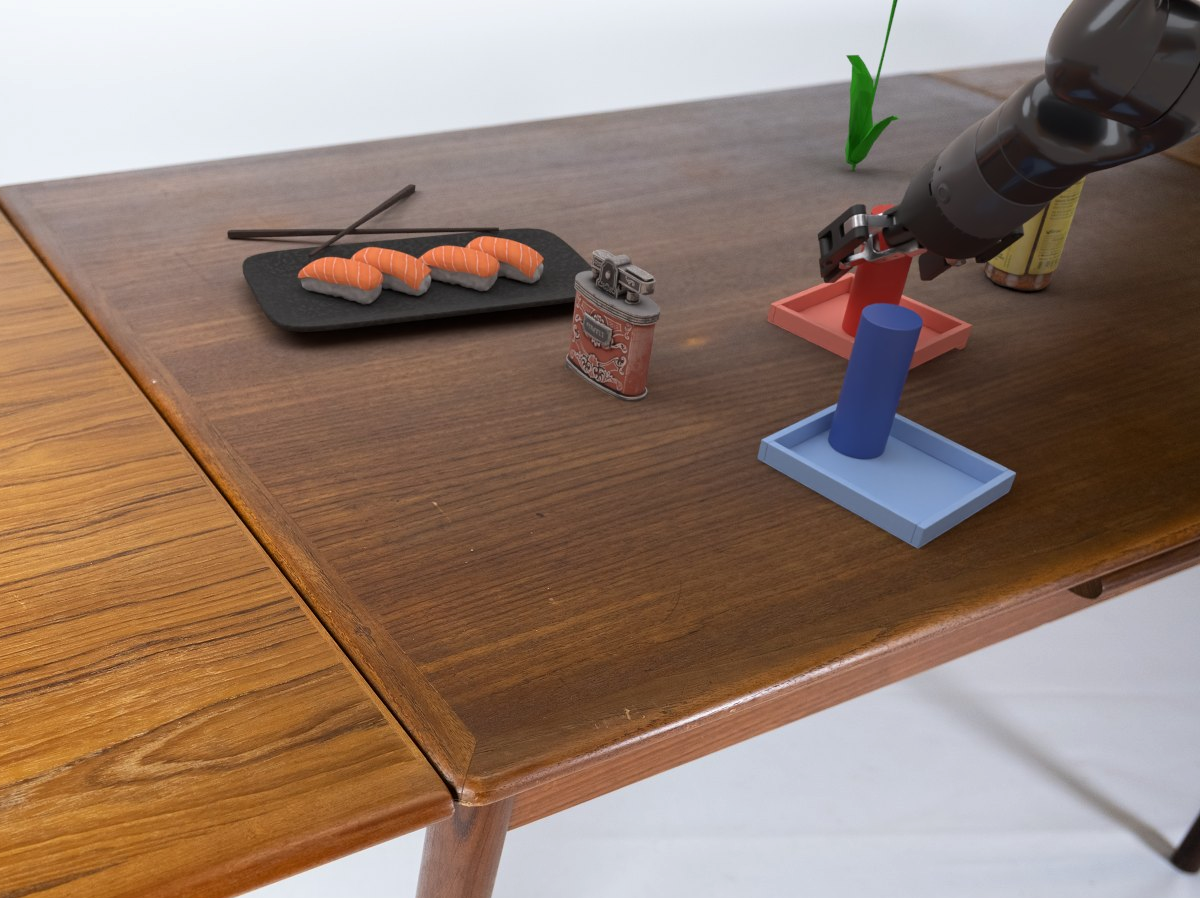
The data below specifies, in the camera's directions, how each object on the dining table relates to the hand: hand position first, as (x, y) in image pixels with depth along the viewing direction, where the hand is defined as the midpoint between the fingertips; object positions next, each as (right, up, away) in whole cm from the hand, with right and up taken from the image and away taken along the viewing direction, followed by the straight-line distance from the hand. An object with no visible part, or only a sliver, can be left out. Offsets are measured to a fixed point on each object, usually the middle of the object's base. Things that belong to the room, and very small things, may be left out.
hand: (874, 270), depth 104 cm
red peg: (0, -4, +2) cm, 5 cm away
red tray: (0, -5, +2) cm, 5 cm away
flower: (+8, +20, +35) cm, 40 cm away
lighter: (-23, -10, -7) cm, 26 cm away
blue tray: (-4, -19, -16) cm, 25 cm away
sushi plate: (-40, +3, +9) cm, 41 cm away
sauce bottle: (+17, +3, +14) cm, 22 cm away
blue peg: (-5, -16, -13) cm, 21 cm away
